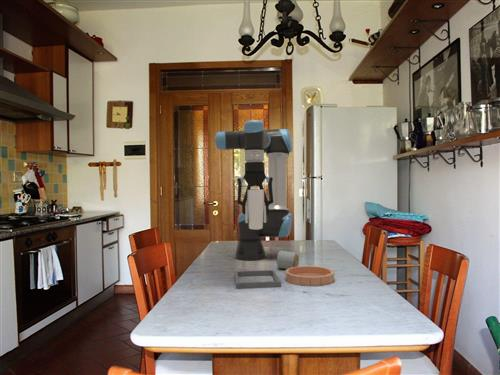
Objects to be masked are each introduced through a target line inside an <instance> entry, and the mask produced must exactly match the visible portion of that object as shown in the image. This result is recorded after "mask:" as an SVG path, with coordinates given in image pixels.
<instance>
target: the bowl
mask: <svg viewBox="0 0 500 375" xmlns="http://www.w3.org/2000/svg"><path fill="white" fill-rule="evenodd" d="M284 279H285V281H286V282H288V283H291V284H294V285H298V286H307V287H309V286H310V287H312V286H313V287H317V286H319V287H320V286H325V285H330V284H332V283H335V282H334V281H335V271H334V270H333V269H332V268H329V267H328V268H327V267H324V266H317V265H298V266H297V267H291V268H288V269H285V270H284Z"/></svg>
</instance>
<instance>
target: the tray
mask: <svg viewBox="0 0 500 375" xmlns="http://www.w3.org/2000/svg"><path fill="white" fill-rule="evenodd" d="M256 276H257V277H260V276H272V278H273V279H274V281H273V280H270V281H246V282H239V277H256ZM234 280H235V288H236V289H255V288H259V289H261V288H281V287H282V282H281V280H280V278H279V276H278V274H277V273H276V271H275V269H270V270H269V269H268V270H267V269H266V270H264V269H263V270H239V271H234Z"/></svg>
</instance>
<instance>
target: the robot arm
mask: <svg viewBox="0 0 500 375" xmlns="http://www.w3.org/2000/svg"><path fill="white" fill-rule="evenodd" d="M214 138H215V139H214V143H215V147H216V149H217V150H220V151H226V150H227V151H228V150H230V151H231V150H243V152H244V161H245V162H244V175H243V176H242V177H238V178H237V179H236V181H237V183H238V184H237V200H236V201H237V204H238V205H240V206H241V213H239V214H238V215H237V216H238V220H237V228H238V230H237V231H238V244H237V246H236V250H235V259H237V260H242V261H257V260H263V259H266V251H265V247H264V245H263V239H262V238H287V237H288V236H290V233H291V229H292V226H293V224H292V223H293V214H292V213H291V212H290V209H289V208H288V207H287V205H286V204H287V196H286V195H287V191H286V190H287V158H288V157H290V153H292V152H293V141H292V136H291V132H290V130H288V129H287V128H277V129H276V128H275V129H265V127H264V122H263V121H262V120H258V119H252V120H251V119H250V120H247V121H245V122H244V124H243V130H231V131H228V130H227V131H218V132H217V133H215V137H214ZM265 156H266V157H267V159H268V176H267V175H266V172H265V169H266V168H265V162H264V161H265ZM265 180H266V182H267V189H268V197H267V194H266V192H265V188H264V186H263V183H264V182H265ZM244 181H245V182H246V183H247V186H246V189H245V192H244V196H243V199H242V186H243V183H244ZM252 187H258V188H259V189H260V190H263V189H264V213H263V228H262V229H257V230H254V229H249V220H248V209H247V192H248V190H250V189H251V188H252Z"/></svg>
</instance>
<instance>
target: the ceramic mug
mask: <svg viewBox="0 0 500 375" xmlns="http://www.w3.org/2000/svg"><path fill="white" fill-rule="evenodd" d="M299 263H300V257H299V254H298V253H297V252H293V251H285V250H279V252H278V253H277V257H276V266H277V269H279V270H287V269H288V268H291V267H297V266H299Z"/></svg>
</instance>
